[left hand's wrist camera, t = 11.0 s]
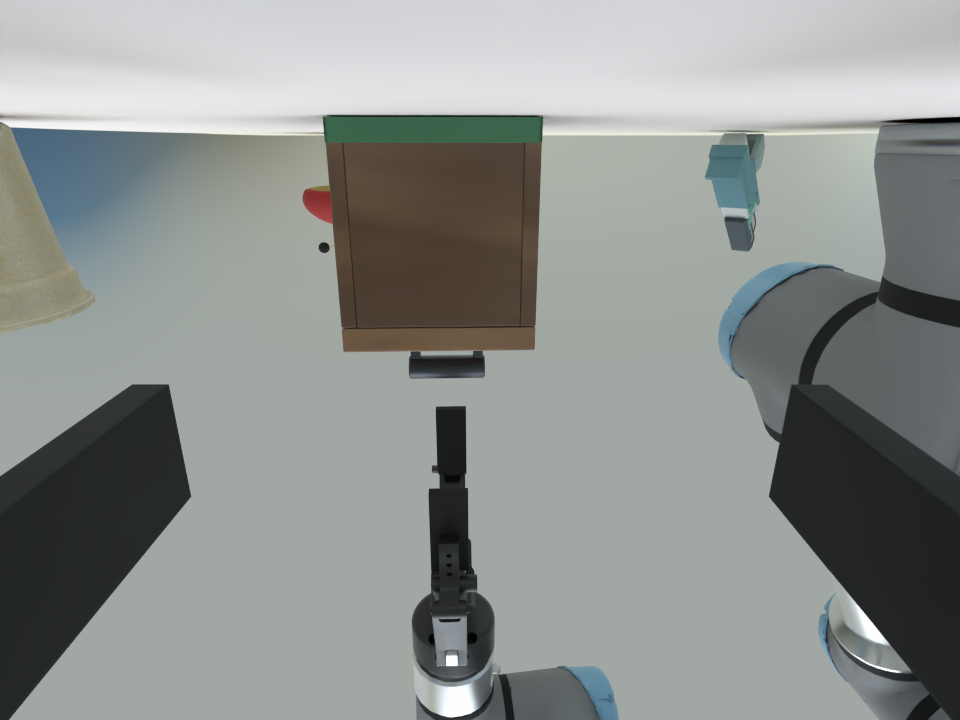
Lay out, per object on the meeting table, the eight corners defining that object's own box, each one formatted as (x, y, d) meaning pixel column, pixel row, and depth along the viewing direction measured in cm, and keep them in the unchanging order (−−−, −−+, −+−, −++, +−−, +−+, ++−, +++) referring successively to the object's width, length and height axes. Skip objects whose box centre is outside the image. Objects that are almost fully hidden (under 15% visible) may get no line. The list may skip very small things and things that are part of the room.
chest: (511, 126, 41) (509, 263, 44) (373, 125, 41) (381, 264, 44) (543, 116, 26) (535, 326, 29) (322, 116, 26) (341, 328, 29)
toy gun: (744, 186, 77) (724, 256, 75) (726, 89, 61) (701, 175, 59) (774, 188, 75) (755, 259, 73) (765, 87, 59) (739, 176, 57)
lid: (508, 261, 45) (506, 362, 48) (383, 262, 45) (389, 363, 48) (535, 327, 29) (530, 472, 32) (341, 329, 29) (354, 475, 32)
